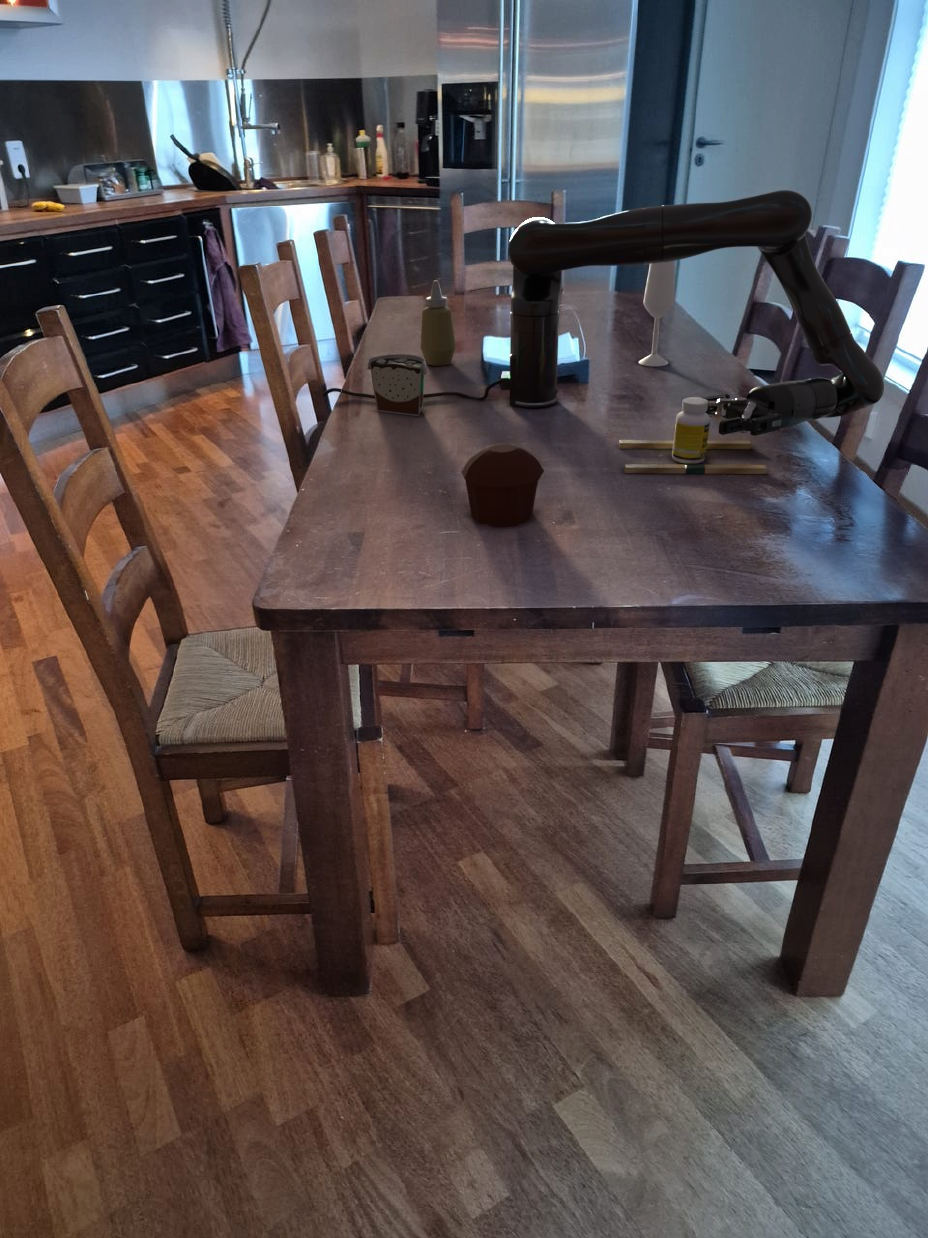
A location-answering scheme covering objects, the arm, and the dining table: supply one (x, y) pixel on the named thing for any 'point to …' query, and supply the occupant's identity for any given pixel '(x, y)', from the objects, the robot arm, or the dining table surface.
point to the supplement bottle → (691, 431)
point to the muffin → (502, 484)
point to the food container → (398, 383)
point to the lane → (690, 468)
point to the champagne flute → (659, 303)
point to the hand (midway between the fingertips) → (703, 420)
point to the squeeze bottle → (437, 329)
